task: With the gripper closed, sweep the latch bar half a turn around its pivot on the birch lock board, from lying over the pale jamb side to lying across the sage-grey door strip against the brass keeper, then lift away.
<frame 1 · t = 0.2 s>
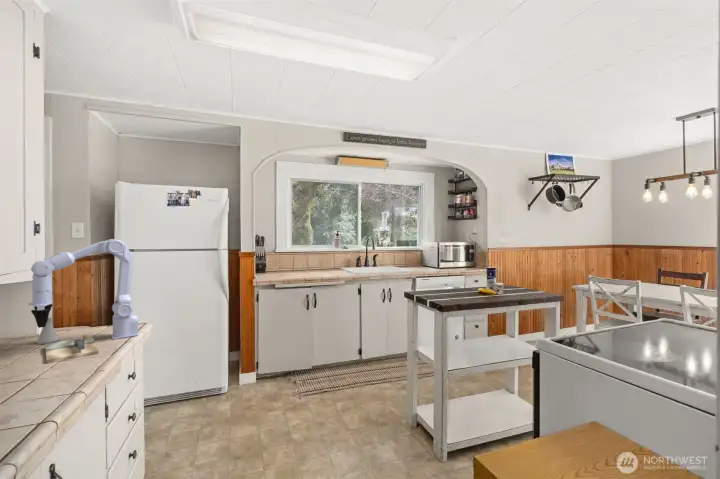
hand: (42, 325, 139), 10 cm above the countertop, tool pointing down, fingers open, 7 cm apart
flask: (48, 342, 149), on the countertop
lock board: (71, 350, 138), on the countertop
latch bar: (80, 344, 137), point 3 cm above the countertop, hinge at 90.0°
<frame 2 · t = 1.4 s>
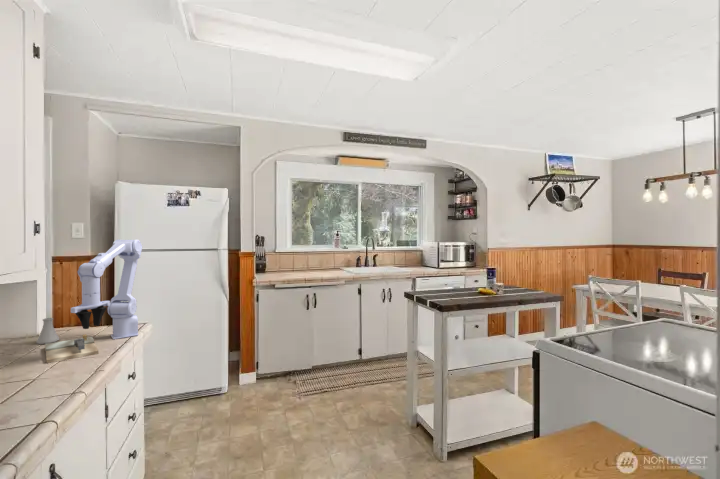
hand: (91, 327, 139), 9 cm above the countertop, tool pointing down, fingers open, 4 cm apart
nothing on the countertop moved.
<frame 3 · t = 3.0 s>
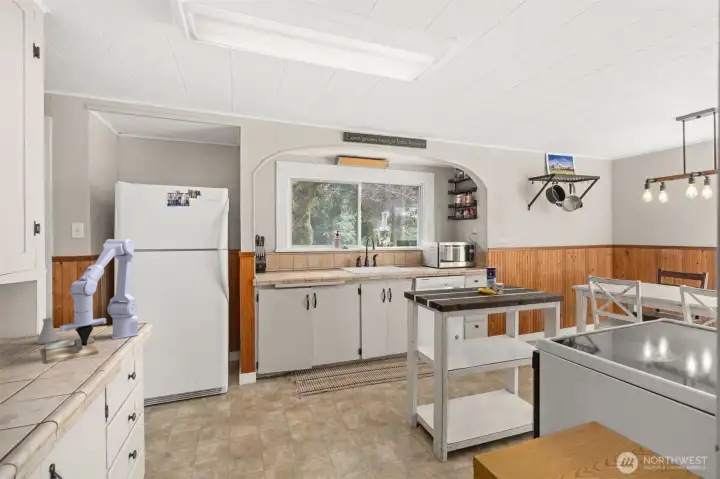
hand: (84, 345, 137), 3 cm above the countertop, tool pointing down, fingers closed, pressing on latch bar
latch bar: (79, 344, 137), point 3 cm above the countertop, hinge at 85.8°, touching gripper
everything else where it was.
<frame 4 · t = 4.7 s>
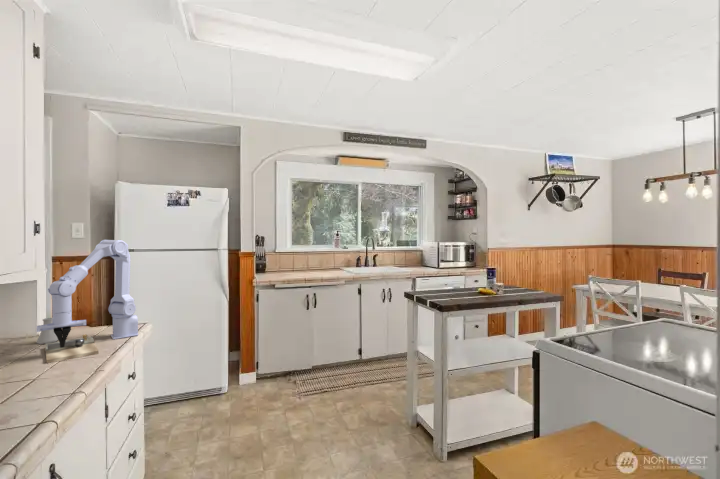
hand: (62, 346, 135), 3 cm above the countertop, tool pointing down, fingers closed, pressing on latch bar
latch bar: (66, 343, 137), point 3 cm above the countertop, hinge at 1.4°, touching gripper
everything else where it was.
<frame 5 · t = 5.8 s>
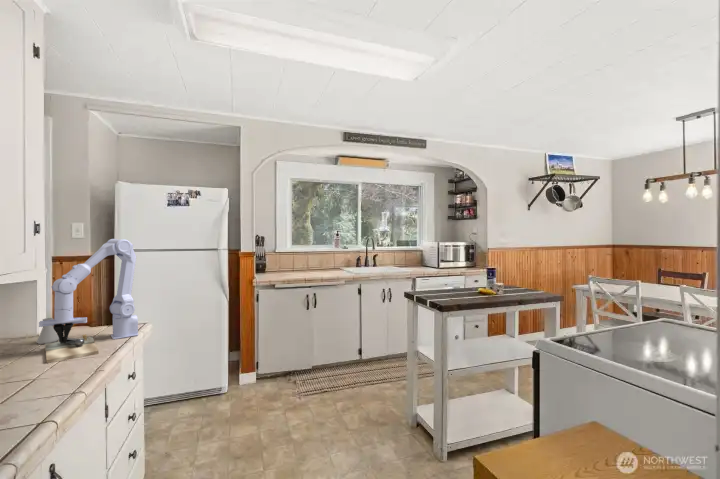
hand: (63, 342, 139), 3 cm above the countertop, tool pointing down, fingers closed
latch bar: (71, 340, 141), point 3 cm above the countertop, hinge at -56.8°, touching gripper
everything else where it was.
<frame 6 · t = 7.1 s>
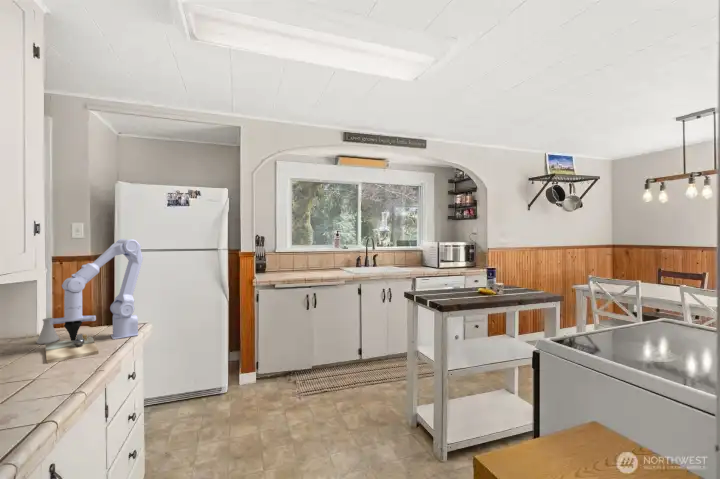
hand: (73, 339, 143), 3 cm above the countertop, tool pointing down, fingers closed
latch bar: (79, 339, 143), point 3 cm above the countertop, hinge at -94.4°, touching gripper
everything else where it was.
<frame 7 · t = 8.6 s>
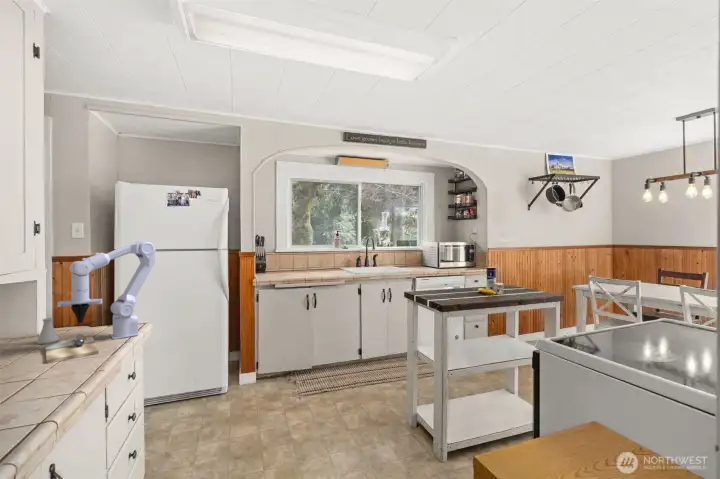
hand: (80, 322, 146), 9 cm above the countertop, tool pointing down, fingers closed
latch bar: (79, 339, 143), point 3 cm above the countertop, hinge at -94.5°
everything else where it was.
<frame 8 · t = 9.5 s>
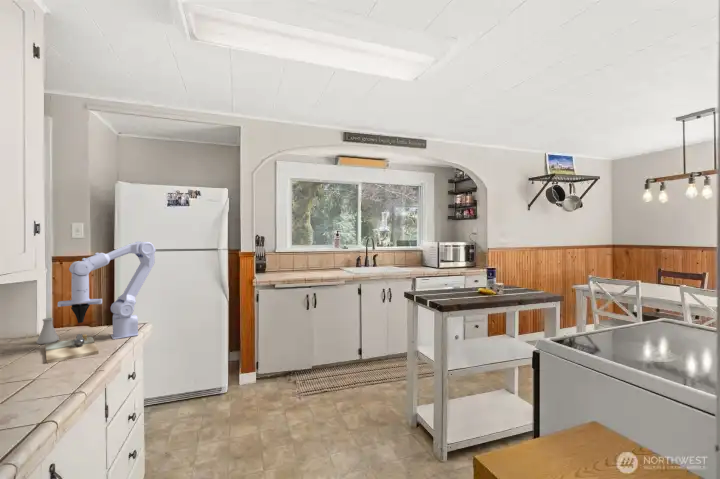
hand: (80, 322, 146), 9 cm above the countertop, tool pointing down, fingers closed
nothing on the countertop moved.
at the end: latch bar at -94° (first picture: +90°); flask moved 0.3 cm from its start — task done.
